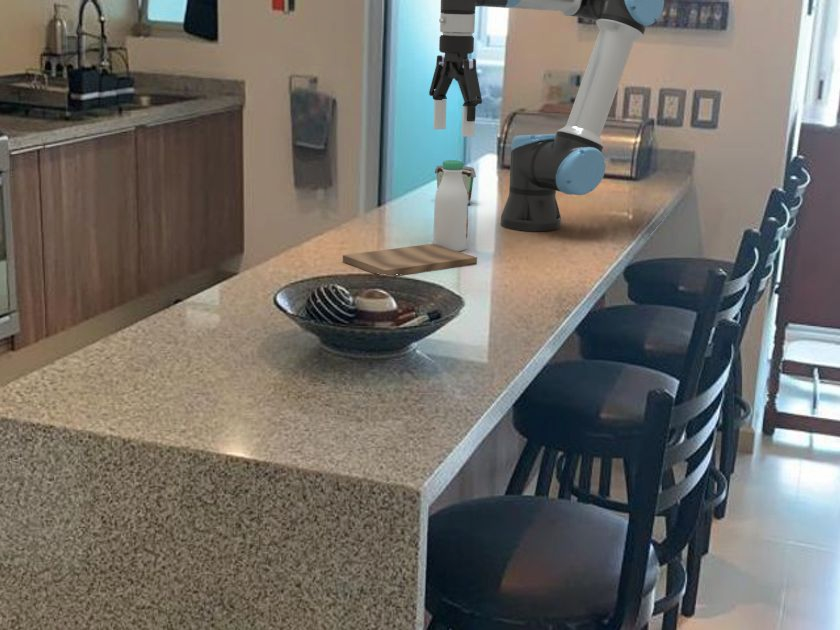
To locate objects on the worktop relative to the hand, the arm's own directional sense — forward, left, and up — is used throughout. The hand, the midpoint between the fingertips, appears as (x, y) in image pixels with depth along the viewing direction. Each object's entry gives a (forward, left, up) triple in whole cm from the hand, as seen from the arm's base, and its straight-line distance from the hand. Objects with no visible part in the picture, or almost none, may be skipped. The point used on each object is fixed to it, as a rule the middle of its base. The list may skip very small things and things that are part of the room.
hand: (453, 132), depth 258 cm
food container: (-30, -52, -26) cm, 66 cm away
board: (+15, +10, -26) cm, 32 cm away
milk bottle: (0, 0, -26) cm, 27 cm away
